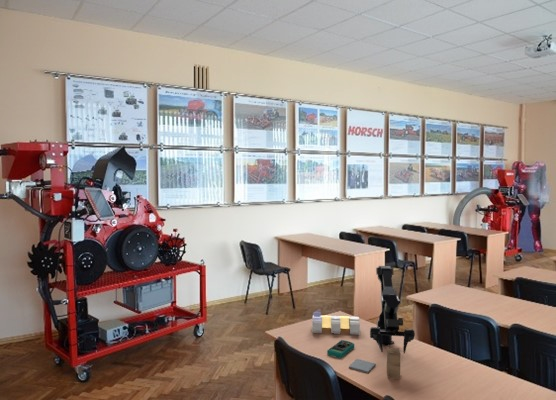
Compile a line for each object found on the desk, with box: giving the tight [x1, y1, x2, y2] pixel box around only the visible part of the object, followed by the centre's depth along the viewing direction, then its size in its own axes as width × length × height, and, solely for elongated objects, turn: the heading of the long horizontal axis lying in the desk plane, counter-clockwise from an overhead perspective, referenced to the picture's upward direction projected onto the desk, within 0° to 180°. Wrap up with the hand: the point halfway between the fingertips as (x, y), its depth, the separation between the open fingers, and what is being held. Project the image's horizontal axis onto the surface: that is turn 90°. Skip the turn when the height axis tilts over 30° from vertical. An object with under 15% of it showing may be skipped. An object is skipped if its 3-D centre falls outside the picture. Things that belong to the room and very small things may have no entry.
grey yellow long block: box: [311, 308, 360, 336], centre depth 230 cm, size 25×10×13 cm, turn 83°
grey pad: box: [348, 358, 376, 374], centre depth 188 cm, size 9×9×1 cm
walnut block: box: [386, 347, 402, 380], centre depth 179 cm, size 5×5×11 cm
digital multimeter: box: [326, 339, 355, 359], centre depth 204 cm, size 8×15×3 cm, turn 145°
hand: (393, 352), depth 180 cm, fingers open, 9 cm apart
